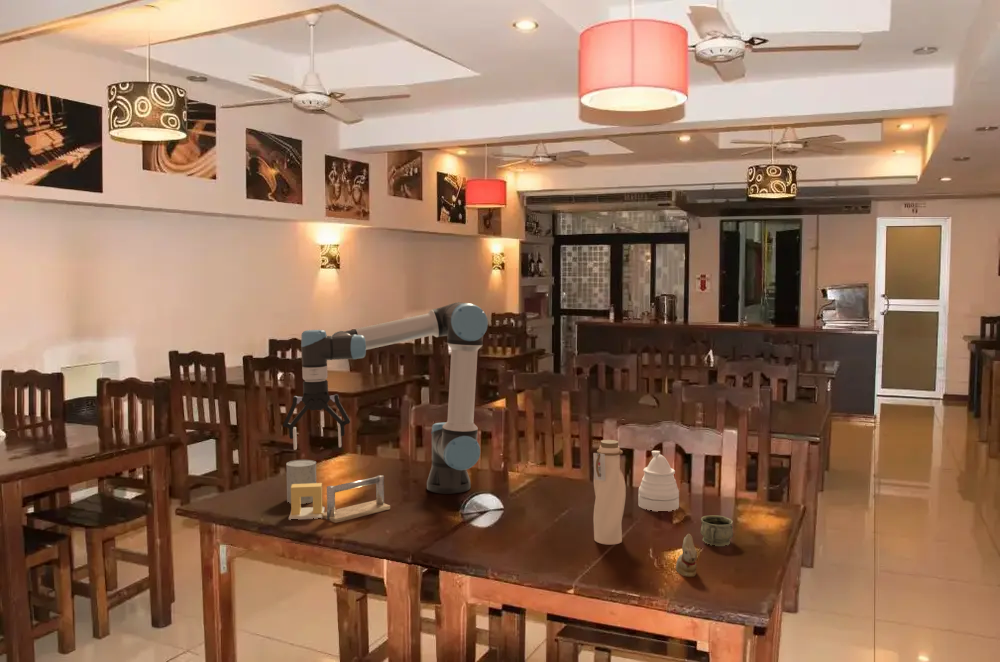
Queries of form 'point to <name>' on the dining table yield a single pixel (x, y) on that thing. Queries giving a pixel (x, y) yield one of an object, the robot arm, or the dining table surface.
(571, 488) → the dining table surface
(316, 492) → the c link
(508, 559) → the dining table surface
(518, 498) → the dining table surface
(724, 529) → the vessel
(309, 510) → the coaster
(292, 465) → the grey speckled cylinder
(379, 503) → the rail stand
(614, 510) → the water bottle
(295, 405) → the robot arm
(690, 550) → the chocolate bunny
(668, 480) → the honey pot
